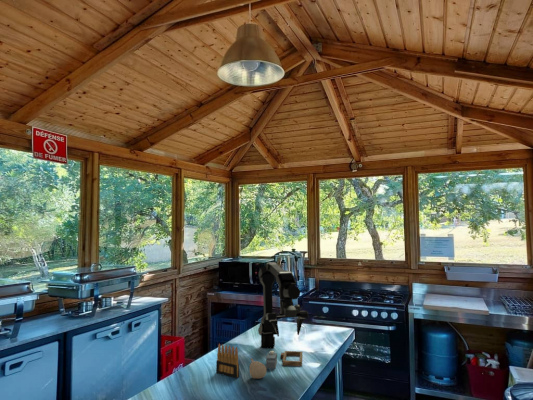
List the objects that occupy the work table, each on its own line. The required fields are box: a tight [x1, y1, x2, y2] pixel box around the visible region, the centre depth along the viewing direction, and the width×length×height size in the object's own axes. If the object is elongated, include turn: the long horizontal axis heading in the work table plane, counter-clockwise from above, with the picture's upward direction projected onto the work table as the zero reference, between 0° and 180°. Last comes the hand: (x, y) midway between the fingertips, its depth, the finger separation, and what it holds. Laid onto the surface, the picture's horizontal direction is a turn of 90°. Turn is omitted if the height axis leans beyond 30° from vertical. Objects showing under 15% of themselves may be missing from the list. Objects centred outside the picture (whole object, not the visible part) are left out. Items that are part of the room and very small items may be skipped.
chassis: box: [280, 350, 304, 367], centre depth 171 cm, size 10×14×2 cm
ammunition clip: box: [215, 342, 240, 379], centre depth 153 cm, size 11×2×12 cm, turn 59°
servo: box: [265, 350, 278, 370], centre depth 164 cm, size 4×9×6 cm, turn 173°
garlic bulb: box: [249, 358, 267, 380], centre depth 150 cm, size 7×6×8 cm
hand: (288, 335), depth 165 cm, fingers open, 9 cm apart
